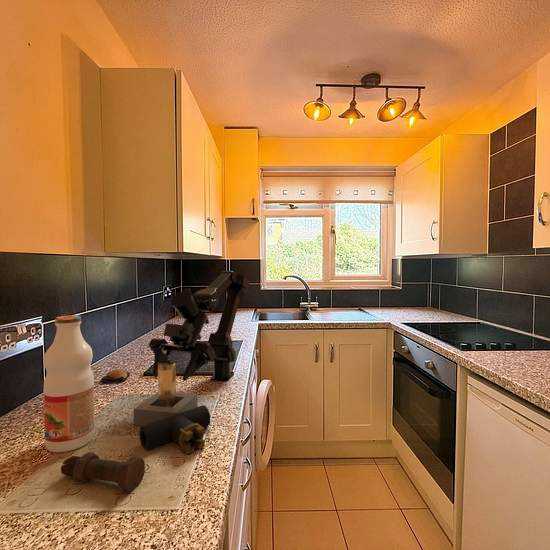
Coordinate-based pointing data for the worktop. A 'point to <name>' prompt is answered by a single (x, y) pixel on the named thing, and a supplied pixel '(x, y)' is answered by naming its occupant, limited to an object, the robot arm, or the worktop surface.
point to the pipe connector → (177, 430)
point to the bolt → (105, 470)
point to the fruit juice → (68, 388)
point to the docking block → (162, 408)
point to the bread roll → (115, 377)
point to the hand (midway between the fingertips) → (168, 378)
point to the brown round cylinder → (167, 383)
